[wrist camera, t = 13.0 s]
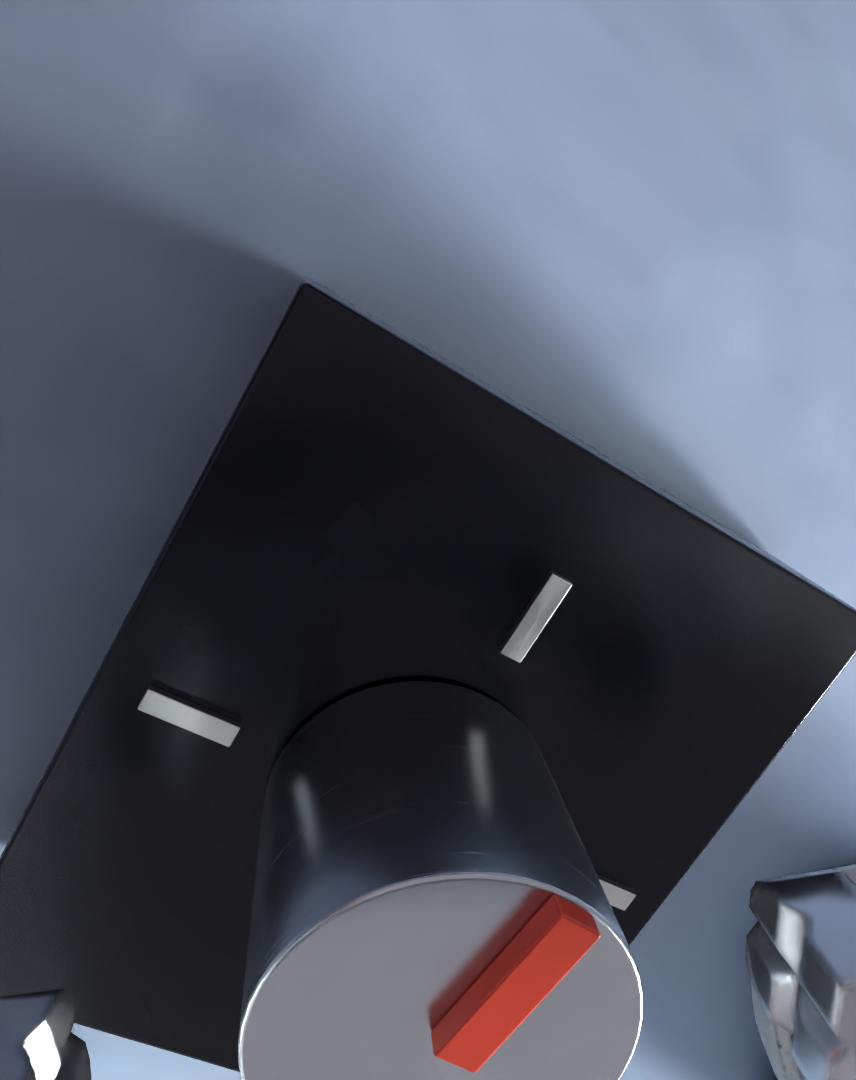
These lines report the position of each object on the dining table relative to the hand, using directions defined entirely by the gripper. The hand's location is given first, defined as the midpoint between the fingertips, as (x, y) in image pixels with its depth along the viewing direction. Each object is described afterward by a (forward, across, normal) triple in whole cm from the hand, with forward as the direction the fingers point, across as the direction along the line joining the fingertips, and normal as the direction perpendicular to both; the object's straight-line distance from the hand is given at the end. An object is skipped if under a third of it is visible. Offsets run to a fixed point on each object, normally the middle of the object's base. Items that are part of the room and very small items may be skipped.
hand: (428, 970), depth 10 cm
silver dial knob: (+3, 0, 0) cm, 3 cm away
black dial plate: (+6, 0, 0) cm, 6 cm away
